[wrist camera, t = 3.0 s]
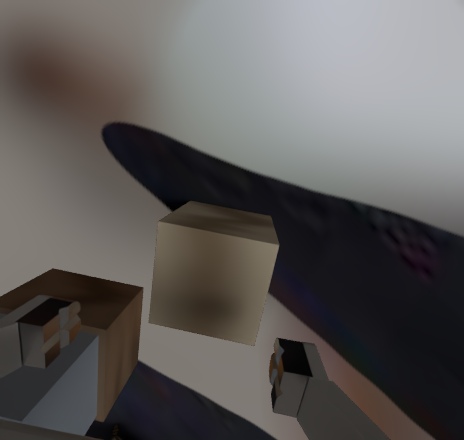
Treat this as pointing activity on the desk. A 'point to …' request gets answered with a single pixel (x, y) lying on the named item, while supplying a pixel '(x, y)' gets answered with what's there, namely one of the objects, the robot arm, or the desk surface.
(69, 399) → the slate block
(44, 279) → the walnut plinth
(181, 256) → the maple block
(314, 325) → the desk surface
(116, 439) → the game die
